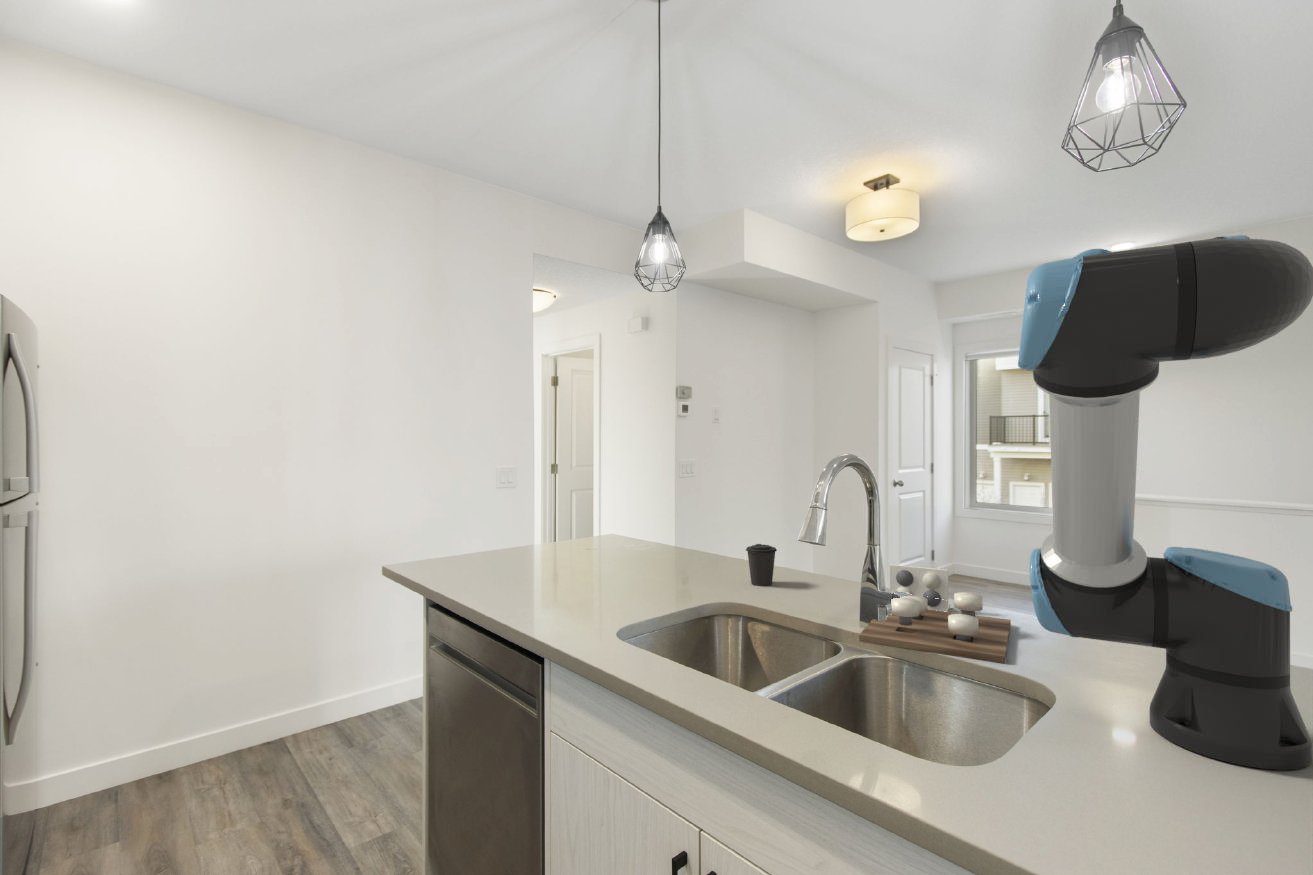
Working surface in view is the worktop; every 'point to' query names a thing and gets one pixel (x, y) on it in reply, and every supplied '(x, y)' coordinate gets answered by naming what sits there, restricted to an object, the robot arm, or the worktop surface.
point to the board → (942, 636)
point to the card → (922, 584)
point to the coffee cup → (761, 564)
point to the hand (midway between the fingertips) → (1091, 487)
